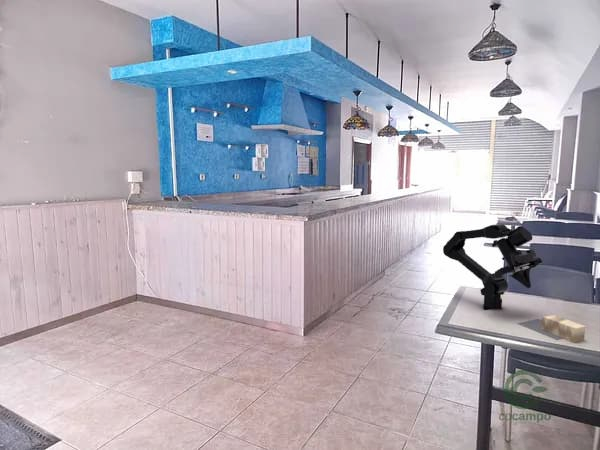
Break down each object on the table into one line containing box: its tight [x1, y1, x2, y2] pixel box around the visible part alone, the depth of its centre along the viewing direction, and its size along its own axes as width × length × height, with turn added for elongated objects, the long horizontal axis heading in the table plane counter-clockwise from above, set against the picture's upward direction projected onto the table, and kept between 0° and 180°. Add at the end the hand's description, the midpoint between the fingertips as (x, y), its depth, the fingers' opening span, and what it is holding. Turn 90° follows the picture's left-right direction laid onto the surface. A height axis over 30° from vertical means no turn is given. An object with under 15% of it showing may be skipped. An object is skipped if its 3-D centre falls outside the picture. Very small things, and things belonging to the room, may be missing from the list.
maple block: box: [541, 314, 586, 343], centre depth 140 cm, size 5×5×12 cm
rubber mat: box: [516, 318, 564, 341], centre depth 146 cm, size 16×12×1 cm
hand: (529, 287), depth 153 cm, fingers closed
